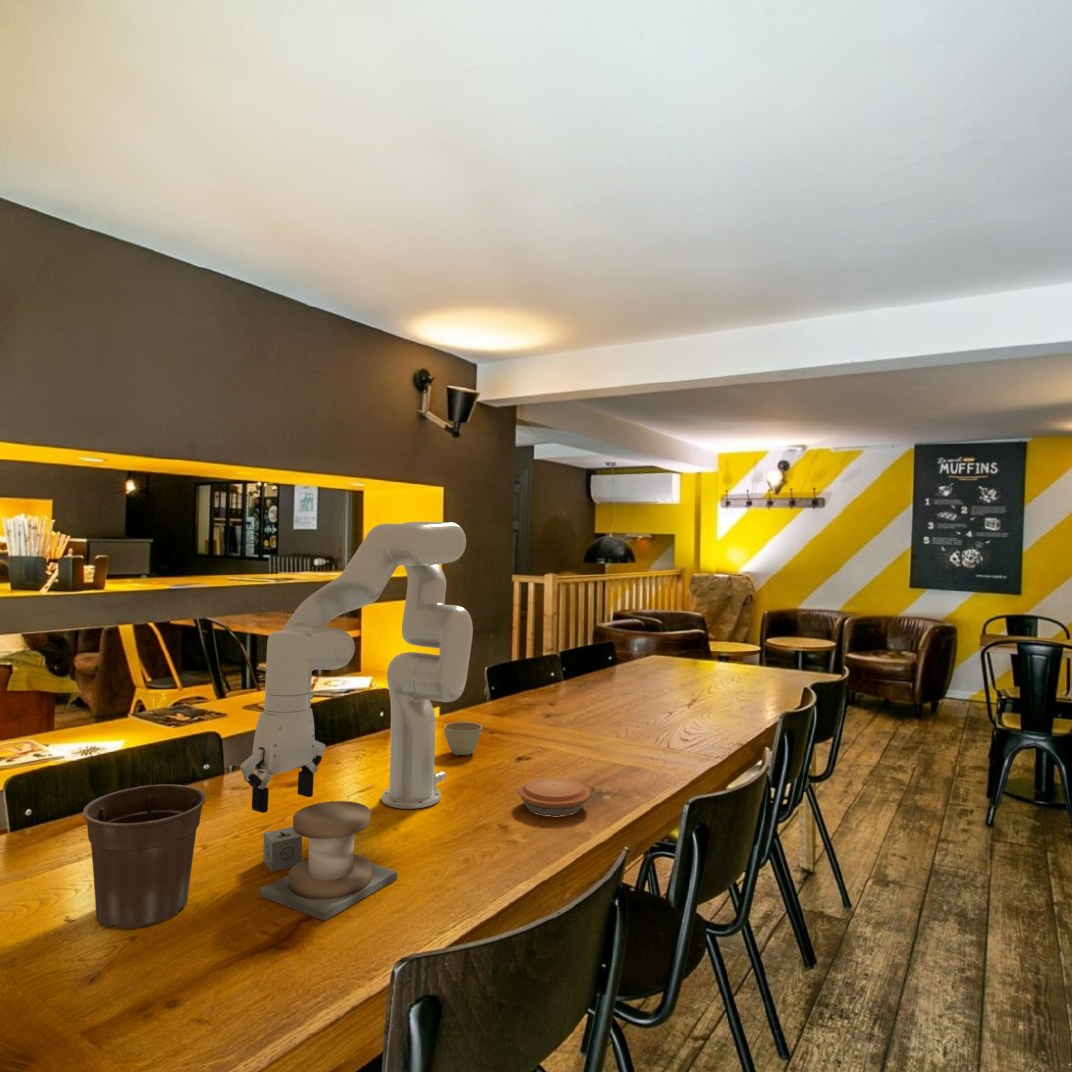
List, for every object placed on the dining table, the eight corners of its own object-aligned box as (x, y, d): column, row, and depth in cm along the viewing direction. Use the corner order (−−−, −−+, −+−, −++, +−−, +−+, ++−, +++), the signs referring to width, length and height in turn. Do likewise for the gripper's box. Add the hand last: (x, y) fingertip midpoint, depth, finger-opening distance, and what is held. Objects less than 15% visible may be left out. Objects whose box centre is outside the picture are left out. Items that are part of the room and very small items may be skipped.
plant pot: (222, 909, 110) (224, 802, 110) (103, 953, 98) (106, 832, 98) (177, 874, 121) (179, 777, 121) (64, 910, 109) (67, 801, 109)
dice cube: (271, 872, 122) (272, 842, 122) (263, 861, 126) (263, 832, 126) (301, 865, 125) (302, 836, 125) (292, 854, 129) (292, 826, 129)
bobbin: (335, 858, 128) (337, 791, 128) (397, 878, 121) (398, 808, 121) (260, 896, 114) (261, 821, 114) (324, 921, 107) (326, 841, 107)
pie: (527, 824, 145) (528, 799, 145) (509, 798, 160) (510, 775, 160) (600, 818, 150) (601, 794, 150) (576, 792, 164) (576, 770, 165)
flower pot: (486, 757, 190) (487, 729, 190) (449, 760, 186) (449, 732, 186) (475, 746, 199) (475, 720, 199) (439, 749, 196) (440, 723, 196)
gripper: (310, 693, 135) (306, 786, 135) (230, 707, 120) (225, 812, 120) (340, 698, 131) (336, 794, 131) (260, 714, 116) (255, 822, 116)
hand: (283, 803), depth 125 cm, fingers open, 9 cm apart
